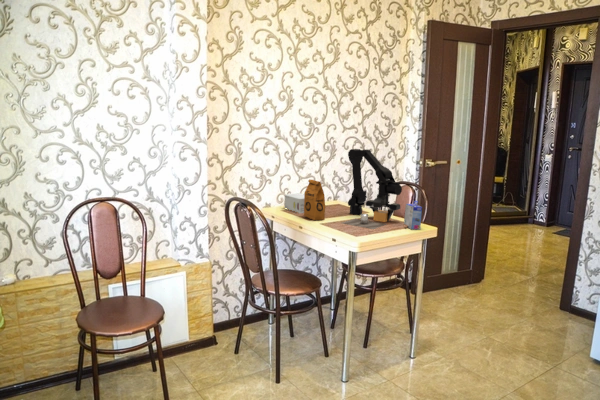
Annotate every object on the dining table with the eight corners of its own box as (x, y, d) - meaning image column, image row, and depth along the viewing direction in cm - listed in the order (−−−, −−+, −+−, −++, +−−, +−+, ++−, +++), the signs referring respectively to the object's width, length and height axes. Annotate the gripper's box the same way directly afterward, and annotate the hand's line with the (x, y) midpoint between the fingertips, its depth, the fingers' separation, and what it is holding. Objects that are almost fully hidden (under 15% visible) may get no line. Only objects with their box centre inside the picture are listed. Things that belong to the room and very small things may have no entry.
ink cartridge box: (421, 229, 235) (423, 202, 233) (411, 229, 234) (413, 202, 232) (412, 225, 245) (414, 199, 243) (403, 225, 244) (405, 199, 241)
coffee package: (312, 221, 247) (313, 182, 244) (301, 217, 258) (302, 179, 254) (327, 220, 252) (328, 181, 248) (316, 215, 263) (317, 178, 259)
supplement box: (283, 209, 282) (284, 194, 280) (300, 207, 289) (301, 192, 288) (299, 213, 268) (299, 198, 266) (316, 211, 276) (317, 196, 274)
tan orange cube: (373, 222, 250) (373, 211, 249) (379, 220, 255) (379, 210, 254) (384, 224, 246) (385, 213, 245) (390, 222, 251) (391, 211, 250)
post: (358, 223, 240) (359, 214, 239) (362, 222, 243) (363, 213, 242) (365, 224, 237) (366, 215, 237) (369, 223, 241) (369, 214, 240)
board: (340, 225, 240) (340, 223, 240) (355, 220, 253) (355, 218, 252) (373, 231, 228) (373, 229, 228) (387, 226, 241) (387, 224, 241)
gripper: (361, 192, 247) (360, 219, 249) (392, 196, 236) (390, 225, 238) (371, 190, 255) (369, 216, 258) (401, 193, 244) (399, 221, 247)
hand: (382, 220), depth 250 cm, fingers closed on tan orange cube, 7 cm apart
